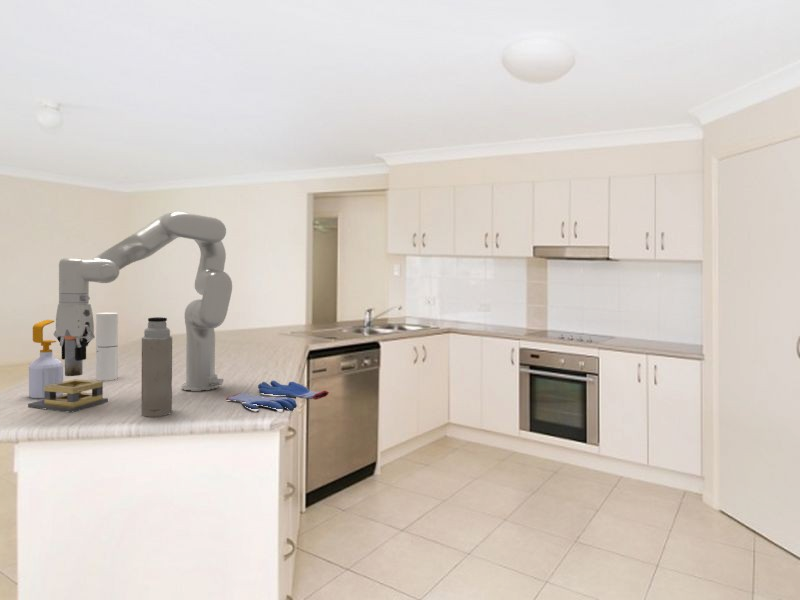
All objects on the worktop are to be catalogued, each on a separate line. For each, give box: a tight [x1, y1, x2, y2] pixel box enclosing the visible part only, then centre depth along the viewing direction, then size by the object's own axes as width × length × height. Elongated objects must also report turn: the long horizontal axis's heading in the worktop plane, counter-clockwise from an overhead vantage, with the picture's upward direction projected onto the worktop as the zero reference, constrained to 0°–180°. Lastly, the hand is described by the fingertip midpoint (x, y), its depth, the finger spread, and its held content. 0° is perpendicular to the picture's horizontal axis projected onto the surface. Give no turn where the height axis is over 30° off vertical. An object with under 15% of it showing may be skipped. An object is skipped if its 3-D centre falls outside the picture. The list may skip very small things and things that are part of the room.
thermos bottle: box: [141, 316, 173, 418], centre depth 144 cm, size 8×8×28 cm
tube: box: [64, 330, 84, 377], centre depth 151 cm, size 5×5×14 cm
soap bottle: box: [28, 319, 64, 399], centre depth 161 cm, size 9×9×25 cm
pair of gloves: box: [225, 380, 330, 411], centre depth 165 cm, size 32×26×4 cm
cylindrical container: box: [95, 312, 119, 382], centre depth 188 cm, size 7×7×25 cm
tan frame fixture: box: [27, 378, 109, 413], centre depth 152 cm, size 16×13×6 cm
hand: (73, 358), depth 151 cm, fingers closed on tube, 4 cm apart
